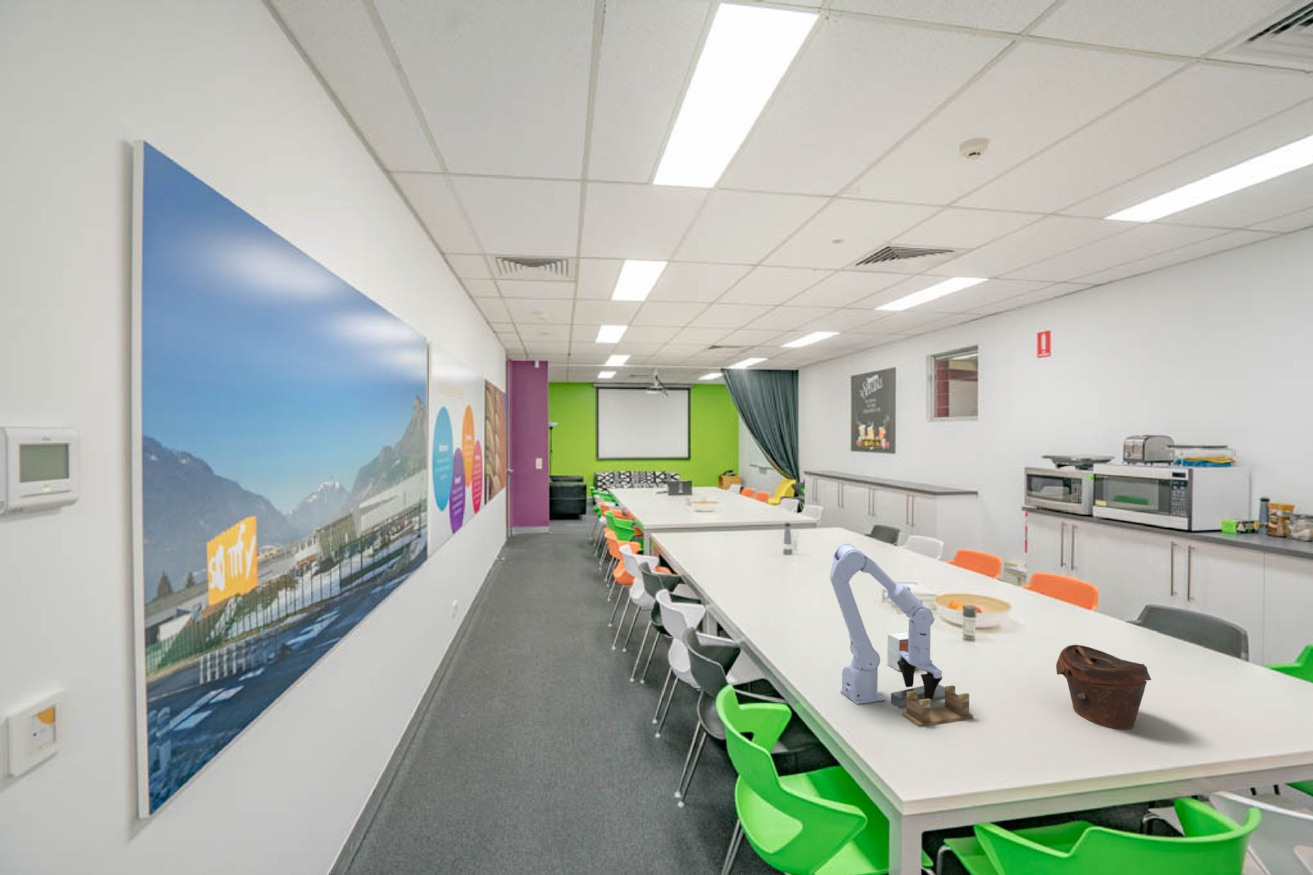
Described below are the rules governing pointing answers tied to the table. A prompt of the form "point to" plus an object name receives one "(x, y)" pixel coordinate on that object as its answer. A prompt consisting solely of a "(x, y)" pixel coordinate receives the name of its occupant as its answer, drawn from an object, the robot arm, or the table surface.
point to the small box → (896, 648)
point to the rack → (937, 708)
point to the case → (1103, 685)
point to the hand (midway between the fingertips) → (918, 692)
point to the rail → (901, 696)
